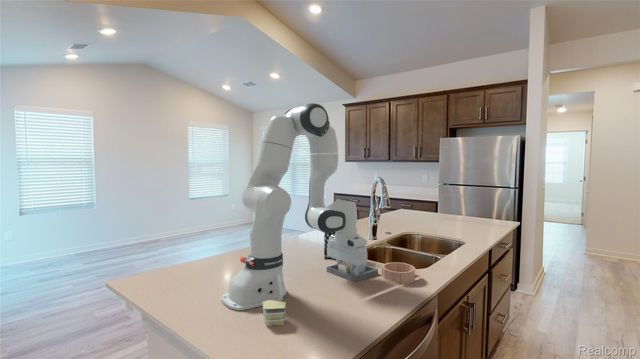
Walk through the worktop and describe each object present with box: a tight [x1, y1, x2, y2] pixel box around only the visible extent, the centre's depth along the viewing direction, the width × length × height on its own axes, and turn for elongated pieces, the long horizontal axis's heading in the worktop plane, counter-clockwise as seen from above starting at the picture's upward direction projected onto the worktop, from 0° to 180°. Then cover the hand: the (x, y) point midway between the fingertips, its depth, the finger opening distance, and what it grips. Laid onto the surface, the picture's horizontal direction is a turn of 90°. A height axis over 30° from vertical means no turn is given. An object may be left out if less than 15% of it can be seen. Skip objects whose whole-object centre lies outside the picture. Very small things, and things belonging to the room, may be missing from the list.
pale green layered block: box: [262, 300, 287, 327], centre depth 97 cm, size 10×9×6 cm
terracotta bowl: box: [381, 261, 416, 285], centre depth 132 cm, size 13×13×4 cm
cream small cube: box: [338, 262, 354, 275], centre depth 134 cm, size 4×4×4 cm
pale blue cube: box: [354, 264, 367, 273], centre depth 139 cm, size 4×4×4 cm
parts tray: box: [326, 261, 379, 283], centre depth 137 cm, size 14×16×3 cm
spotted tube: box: [323, 232, 336, 261], centre depth 159 cm, size 8×8×20 cm
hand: (346, 271), depth 134 cm, fingers closed on cream small cube, 4 cm apart
